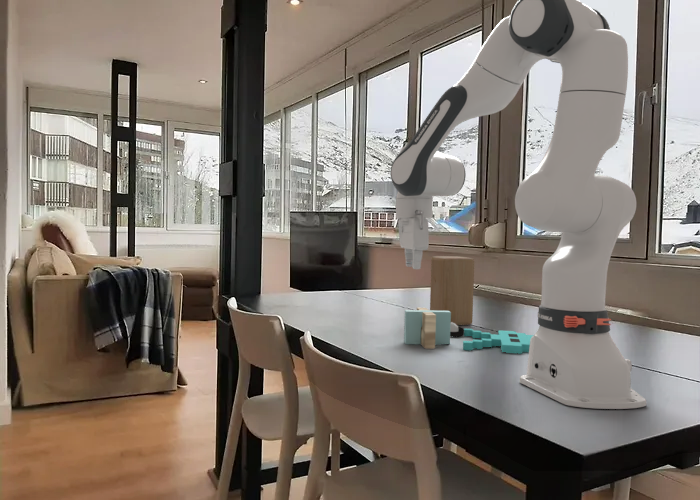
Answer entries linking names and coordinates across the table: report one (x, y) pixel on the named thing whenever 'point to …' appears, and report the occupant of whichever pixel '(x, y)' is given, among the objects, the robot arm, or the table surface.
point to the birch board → (428, 329)
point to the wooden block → (453, 287)
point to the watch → (456, 330)
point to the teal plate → (415, 323)
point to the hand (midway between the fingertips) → (412, 267)
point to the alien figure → (498, 341)
